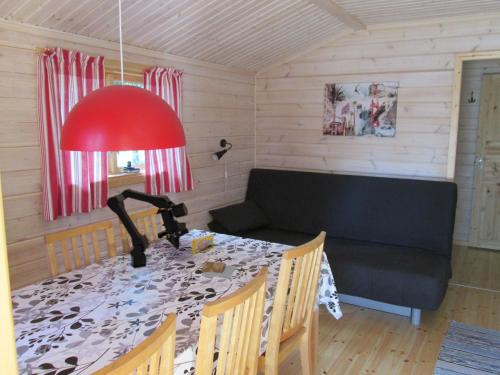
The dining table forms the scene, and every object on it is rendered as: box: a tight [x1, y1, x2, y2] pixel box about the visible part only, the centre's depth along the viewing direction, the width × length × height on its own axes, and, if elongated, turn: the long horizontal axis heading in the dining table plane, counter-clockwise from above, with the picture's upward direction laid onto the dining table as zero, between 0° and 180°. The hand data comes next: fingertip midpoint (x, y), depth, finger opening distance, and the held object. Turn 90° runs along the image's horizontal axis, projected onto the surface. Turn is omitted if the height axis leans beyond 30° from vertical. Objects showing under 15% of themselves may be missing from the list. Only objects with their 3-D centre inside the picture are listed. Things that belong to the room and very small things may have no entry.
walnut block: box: [201, 261, 226, 273], centre depth 216 cm, size 3×7×10 cm
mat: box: [201, 264, 237, 278], centre depth 216 cm, size 14×16×1 cm
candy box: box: [191, 234, 215, 255], centre depth 248 cm, size 16×2×8 cm, turn 143°
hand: (177, 249), depth 218 cm, fingers closed
